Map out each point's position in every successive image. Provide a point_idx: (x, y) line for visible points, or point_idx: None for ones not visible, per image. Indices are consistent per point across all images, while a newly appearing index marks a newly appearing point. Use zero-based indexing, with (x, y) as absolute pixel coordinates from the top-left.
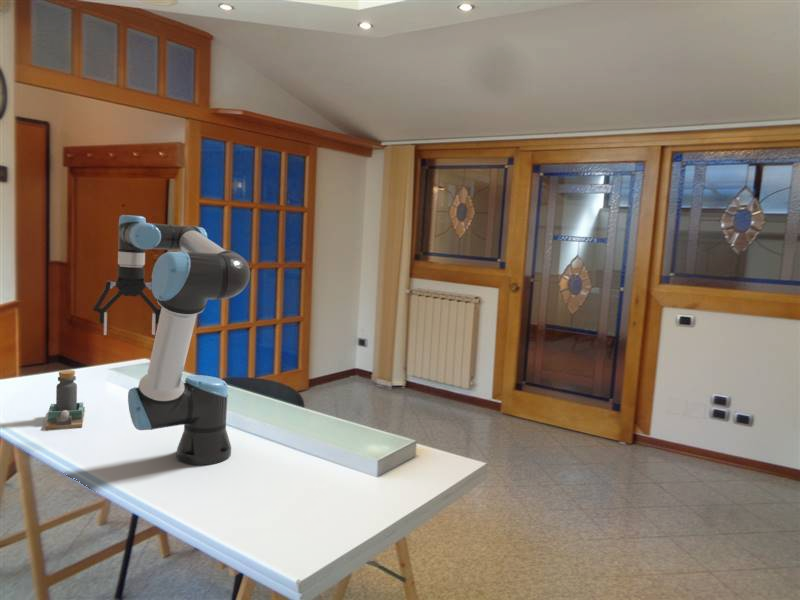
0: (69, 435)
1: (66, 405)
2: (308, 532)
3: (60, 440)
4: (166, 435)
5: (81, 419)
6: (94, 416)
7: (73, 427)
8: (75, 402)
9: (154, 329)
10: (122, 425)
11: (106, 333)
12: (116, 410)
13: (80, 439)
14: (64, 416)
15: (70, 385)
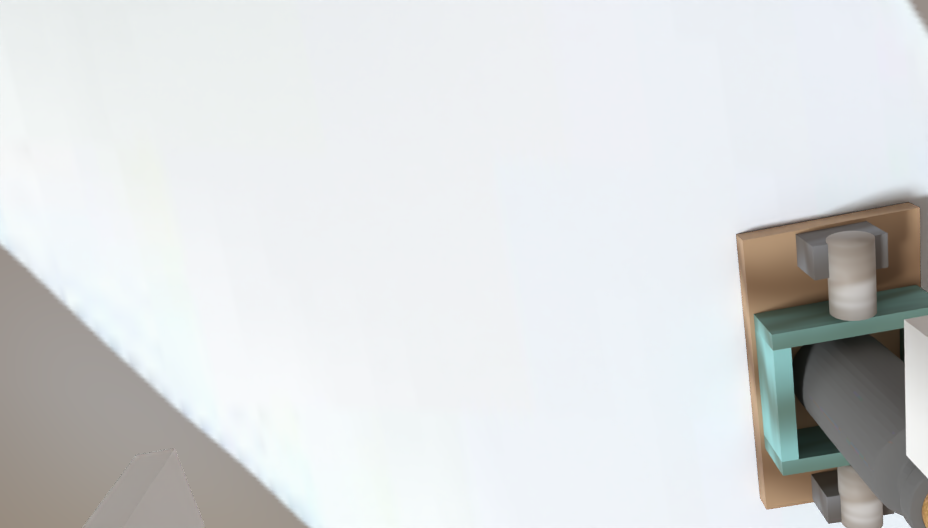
0: (780, 112)
1: (867, 360)
2: None
3: (814, 31)
4: (281, 89)
5: (755, 313)
6: (699, 407)
7: (777, 227)
8: (826, 398)
9: (104, 514)
10: (539, 263)
11: (920, 329)
12: (608, 494)
13: (716, 43)
14: (851, 240)
15: None
